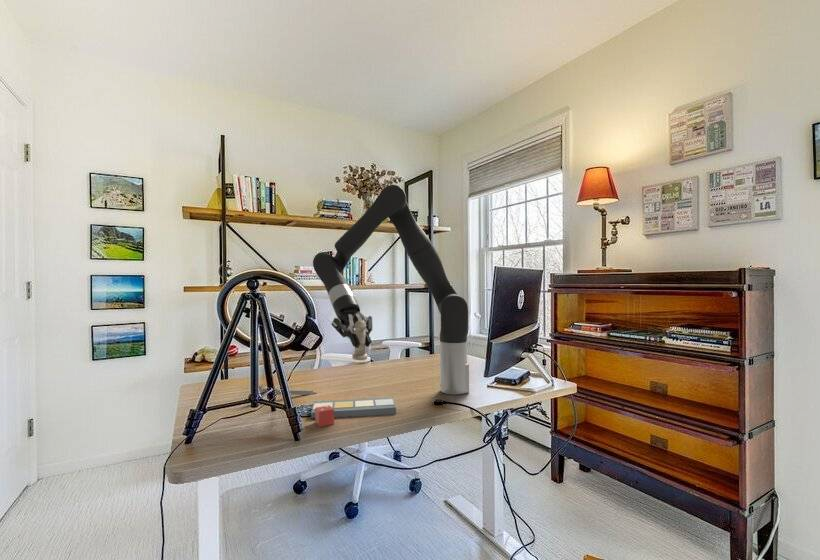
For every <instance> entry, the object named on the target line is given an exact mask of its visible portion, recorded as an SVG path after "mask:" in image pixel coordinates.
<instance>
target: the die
mask: <svg viewBox="0 0 820 560" xmlns="http://www.w3.org/2000/svg"><path fill="white" fill-rule="evenodd" d="M314 422H315V424H316V423H317V424H318V425H317V424H316V425H317V426H318V428H321V427H320V426H322V427H326V426H325V425H327V426H331V425H330V424H333V425H335V418H334V409H333V408H332V407H331V406H330V405H328V406H322V407H316V408H315V419H314Z"/></svg>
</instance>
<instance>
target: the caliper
mask: <svg viewBox="0 0 820 560" xmlns="http://www.w3.org/2000/svg"><path fill="white" fill-rule="evenodd" d="M267 388H268V387H264V385H263V384H261V385H260V384H259V391H260V393H262V392H265V391H267ZM274 388H275V391H276V397H277V396H278V395H280V396H282V395H281V392H280V390H281V389H279V388H277V387H274ZM289 390H290V393H291V395H290V396H297V395H298V396H310V395H313V394H317V392H316V391H314V390H313V389H289Z"/></svg>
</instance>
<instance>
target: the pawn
mask: <svg viewBox="0 0 820 560" xmlns="http://www.w3.org/2000/svg"><path fill="white" fill-rule="evenodd" d="M365 328H366V324H365V323H364V321H357V322H356V323H355V325H354V331H355V333H354V334H356V335H357V337H358V340H359V342H360V345H359V347H358V348H355V347H354V349H353V350H354V351H353V352H354V353H352V356H351V359H352V360H354V361H364V360H367V359H368V353H366V345H365V332H366V330H365Z"/></svg>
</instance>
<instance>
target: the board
mask: <svg viewBox="0 0 820 560" xmlns="http://www.w3.org/2000/svg"><path fill="white" fill-rule="evenodd" d="M328 405H330V406H331V407H332V408H333V409H334V417H336V418H348V416H352V417H362V416H363V417H365V416H367V417H369V416H381V415H382V416H383V415H397V406H396V403H395V400H394V398H393V396H392V397H391V396H389V397H375V398H373V397H372V398H357V399H356V398H355V399H353V398H352V399H338V400H321V401H313V404H312V408H311V412H310V419H311V418H315V408H316V407H322V406H328Z"/></svg>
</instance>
